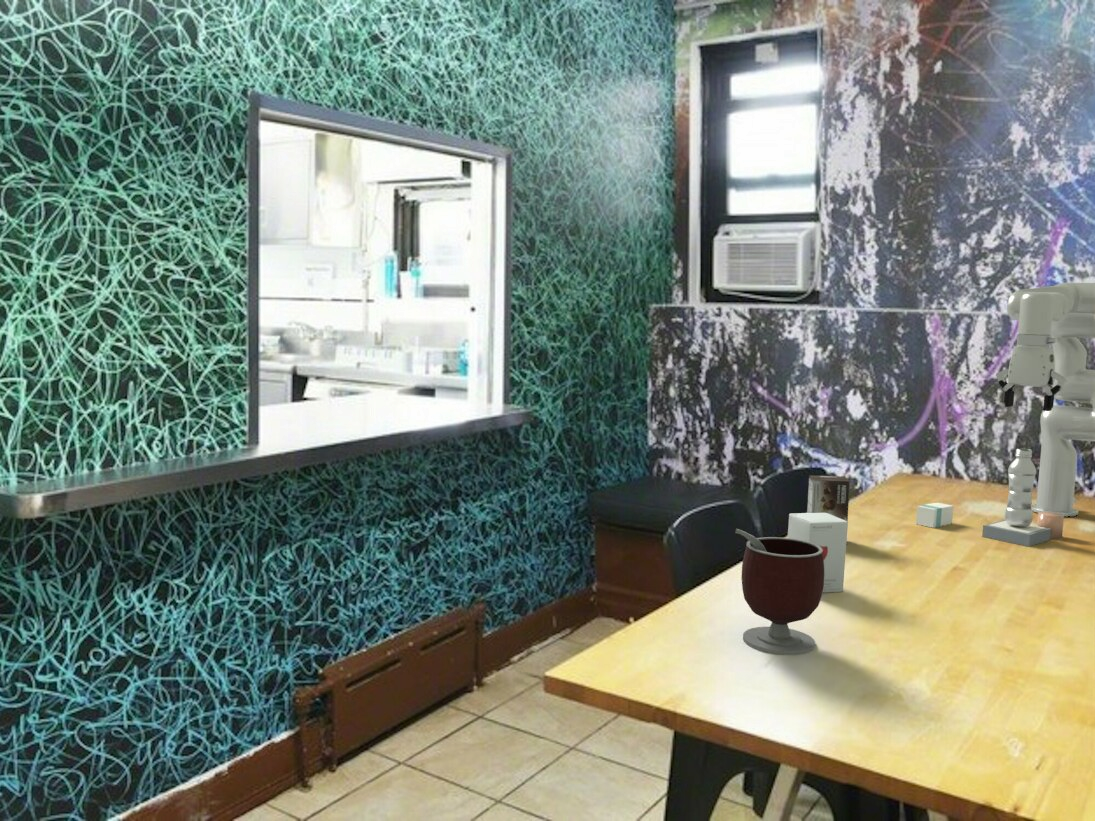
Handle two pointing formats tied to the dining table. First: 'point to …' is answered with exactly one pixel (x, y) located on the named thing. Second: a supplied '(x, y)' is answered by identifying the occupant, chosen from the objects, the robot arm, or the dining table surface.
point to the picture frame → (1016, 533)
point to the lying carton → (934, 514)
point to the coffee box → (829, 495)
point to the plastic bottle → (1020, 489)
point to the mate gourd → (781, 590)
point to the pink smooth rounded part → (1052, 523)
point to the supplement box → (823, 543)
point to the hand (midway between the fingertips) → (1027, 408)
